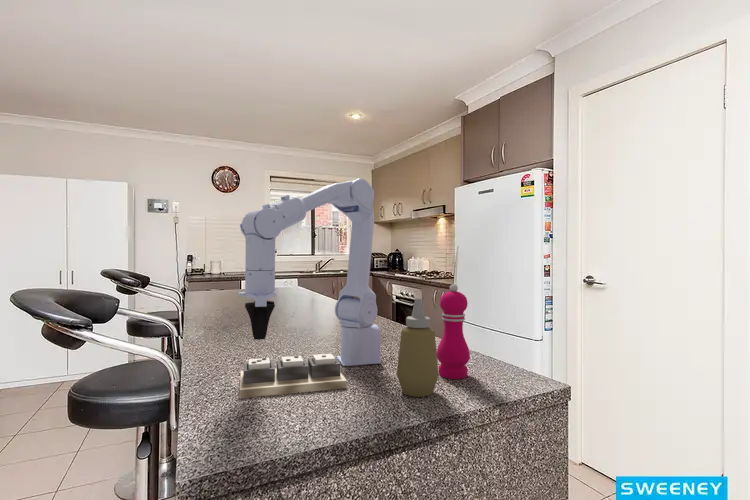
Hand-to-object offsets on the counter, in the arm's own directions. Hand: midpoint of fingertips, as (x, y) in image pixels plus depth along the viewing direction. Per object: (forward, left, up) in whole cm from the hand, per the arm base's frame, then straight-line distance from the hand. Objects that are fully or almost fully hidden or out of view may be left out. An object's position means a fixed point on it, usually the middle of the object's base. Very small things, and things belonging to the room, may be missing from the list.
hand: (259, 338), depth 79 cm
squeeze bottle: (-29, +12, -10) cm, 33 cm away
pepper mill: (-41, +4, -10) cm, 42 cm away
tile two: (-6, 0, -7) cm, 9 cm away
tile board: (-6, 0, -9) cm, 11 cm away
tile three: (0, 0, -6) cm, 6 cm away
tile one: (-13, 0, -6) cm, 15 cm away
